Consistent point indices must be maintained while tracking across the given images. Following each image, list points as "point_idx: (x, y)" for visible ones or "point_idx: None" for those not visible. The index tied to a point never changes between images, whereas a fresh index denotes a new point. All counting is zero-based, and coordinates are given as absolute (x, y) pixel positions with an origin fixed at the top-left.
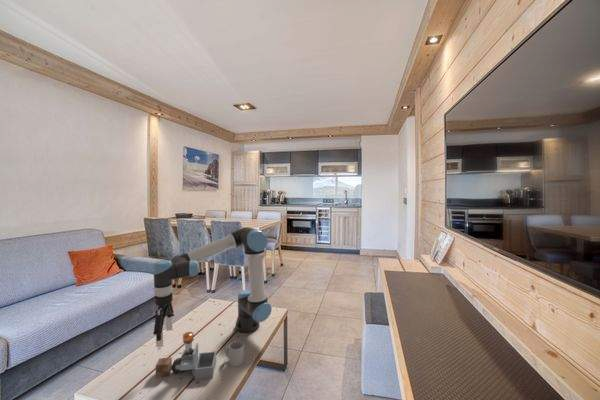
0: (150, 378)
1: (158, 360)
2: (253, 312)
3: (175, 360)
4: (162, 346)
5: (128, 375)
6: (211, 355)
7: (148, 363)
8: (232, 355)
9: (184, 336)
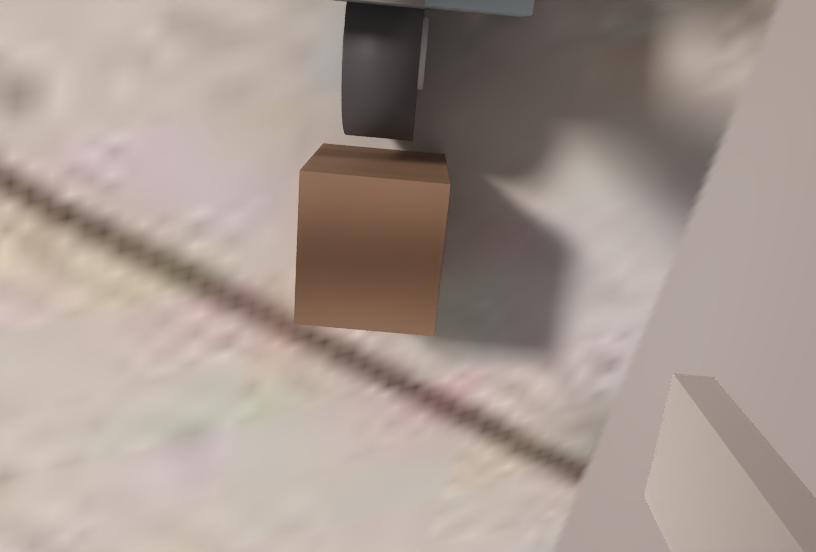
0: None
1: (334, 326)
2: None
3: (374, 102)
4: (716, 383)
5: (327, 523)
6: None
7: (174, 405)
8: None
9: None
